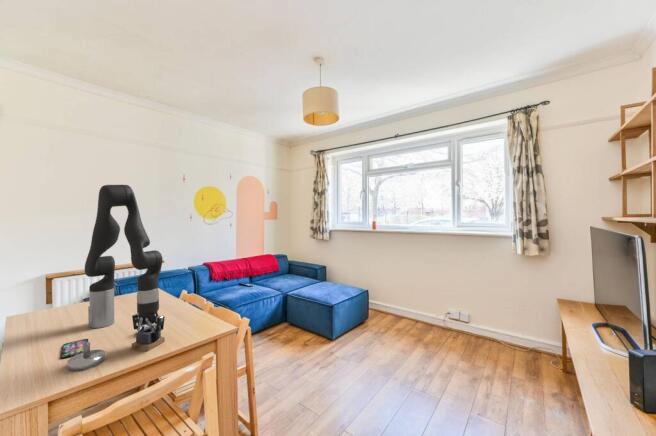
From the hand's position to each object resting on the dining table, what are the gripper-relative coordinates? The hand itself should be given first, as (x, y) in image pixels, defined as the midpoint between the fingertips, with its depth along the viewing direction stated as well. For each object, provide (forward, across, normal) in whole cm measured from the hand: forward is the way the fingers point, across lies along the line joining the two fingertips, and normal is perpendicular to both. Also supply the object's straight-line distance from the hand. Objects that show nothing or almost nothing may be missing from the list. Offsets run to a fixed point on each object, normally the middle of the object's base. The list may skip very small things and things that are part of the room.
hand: (148, 340), depth 110 cm
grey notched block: (0, 0, 0) cm, 0 cm away
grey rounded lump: (+2, -10, +11) cm, 15 cm away
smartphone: (+3, -26, -9) cm, 28 cm away
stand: (+2, 0, 0) cm, 2 cm away
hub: (+2, -10, -16) cm, 19 cm away
